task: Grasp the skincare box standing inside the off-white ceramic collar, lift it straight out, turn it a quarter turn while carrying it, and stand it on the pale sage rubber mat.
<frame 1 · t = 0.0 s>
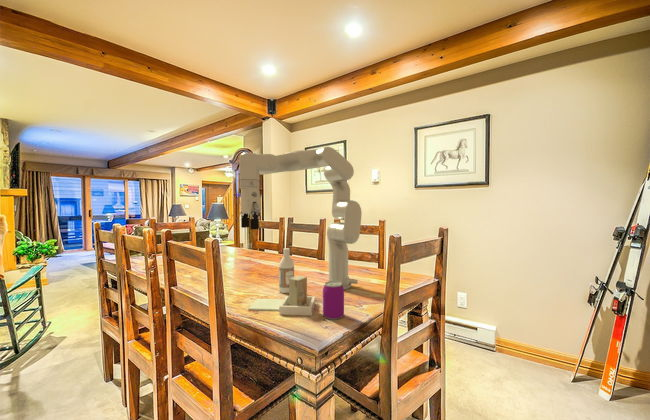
hand: (249, 228, 110), 31 cm above the table, tool pointing down, fingers open, 9 cm apart
skincare box: (298, 309, 108), resting in collar
bath foam: (286, 291, 130), on the table
beverage can: (333, 316, 101), on the table
collar: (298, 308, 108), on the table
mat: (267, 305, 112), on the table
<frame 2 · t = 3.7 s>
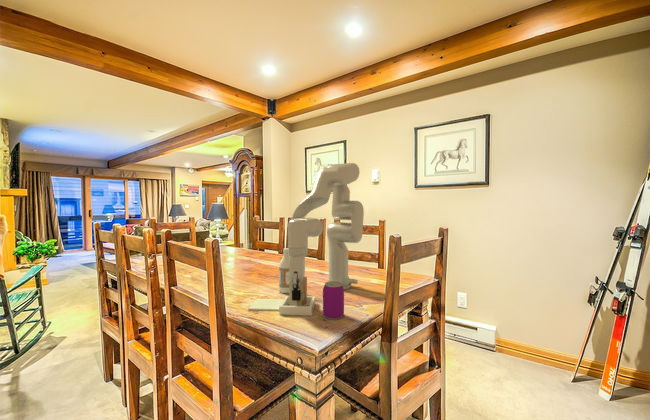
hand: (298, 296, 108), 5 cm above the table, tool pointing down, fingers closed on skincare box, 7 cm apart
skincare box: (298, 309, 108), resting in collar, touching gripper
everything else where it was.
when the fingers open (7 cm above the table, at t = 11.7 s): skincare box drops 1 cm, resting on mat.
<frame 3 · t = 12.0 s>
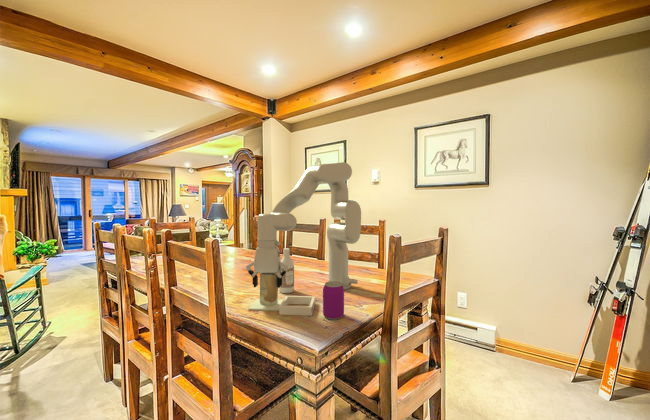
hand: (267, 286, 112), 8 cm above the table, tool pointing down, fingers open, 9 cm apart
skincare box: (268, 304, 112), resting on mat
everything else where it was.
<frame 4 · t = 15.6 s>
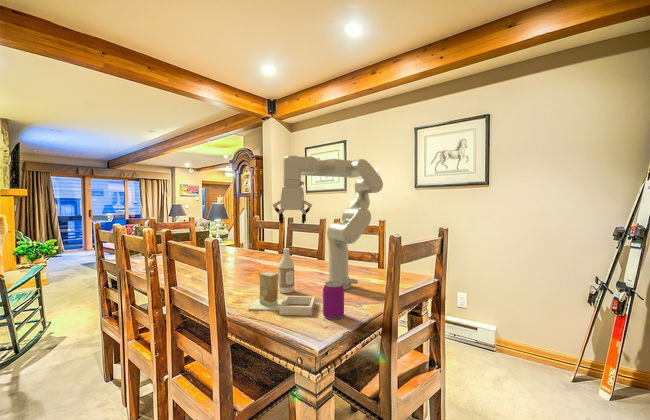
hand: (292, 223, 123), 32 cm above the table, tool pointing down, fingers open, 9 cm apart
nothing on the table moved.
at the end: skincare box inside the target area on the mat (0.5 cm from its centre), point 0.4 cm above the mat's base; skincare box tilted 0°; the gripper is holding nothing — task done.
